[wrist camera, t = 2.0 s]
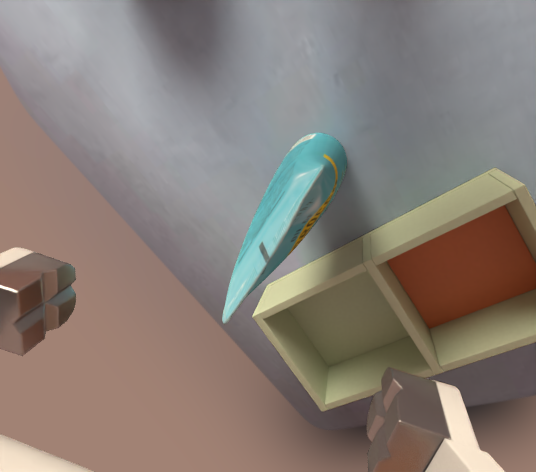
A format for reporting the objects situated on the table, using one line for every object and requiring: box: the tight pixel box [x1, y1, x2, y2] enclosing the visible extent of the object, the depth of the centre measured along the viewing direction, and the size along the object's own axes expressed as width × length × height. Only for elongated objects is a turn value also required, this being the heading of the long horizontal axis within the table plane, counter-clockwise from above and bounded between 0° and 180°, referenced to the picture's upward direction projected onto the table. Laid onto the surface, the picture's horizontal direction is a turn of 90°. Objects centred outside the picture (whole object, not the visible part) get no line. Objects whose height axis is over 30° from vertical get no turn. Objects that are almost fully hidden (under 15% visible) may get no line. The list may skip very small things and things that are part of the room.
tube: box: [222, 133, 347, 324], centre depth 22 cm, size 7×5×19 cm, turn 155°
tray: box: [252, 168, 536, 412], centre depth 30 cm, size 22×11×6 cm, turn 125°
